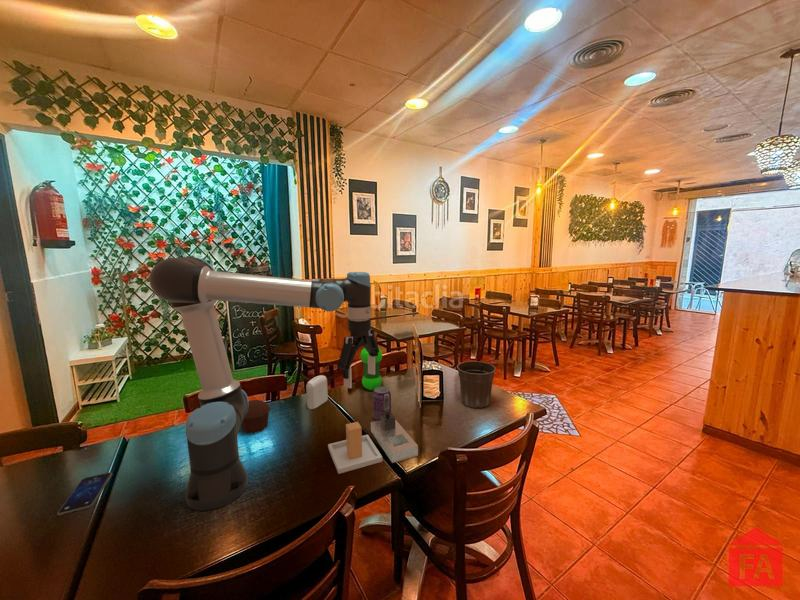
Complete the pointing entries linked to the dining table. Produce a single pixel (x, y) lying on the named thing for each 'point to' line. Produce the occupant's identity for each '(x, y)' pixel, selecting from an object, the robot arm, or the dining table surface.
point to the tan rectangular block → (354, 440)
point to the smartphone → (85, 494)
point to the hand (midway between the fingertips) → (360, 380)
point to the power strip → (393, 438)
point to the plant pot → (476, 383)
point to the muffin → (256, 417)
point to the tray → (345, 464)
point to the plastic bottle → (370, 379)
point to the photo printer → (316, 391)
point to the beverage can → (381, 402)
